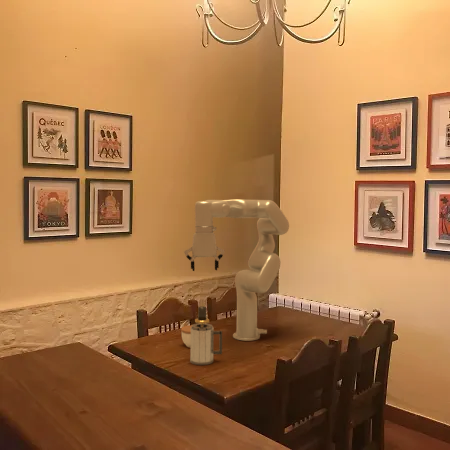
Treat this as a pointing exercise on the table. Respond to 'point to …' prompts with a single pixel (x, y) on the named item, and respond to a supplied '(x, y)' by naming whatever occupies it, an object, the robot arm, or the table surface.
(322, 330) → the table surface
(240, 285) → the robot arm
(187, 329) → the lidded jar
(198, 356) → the cafetiere
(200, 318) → the plunger
